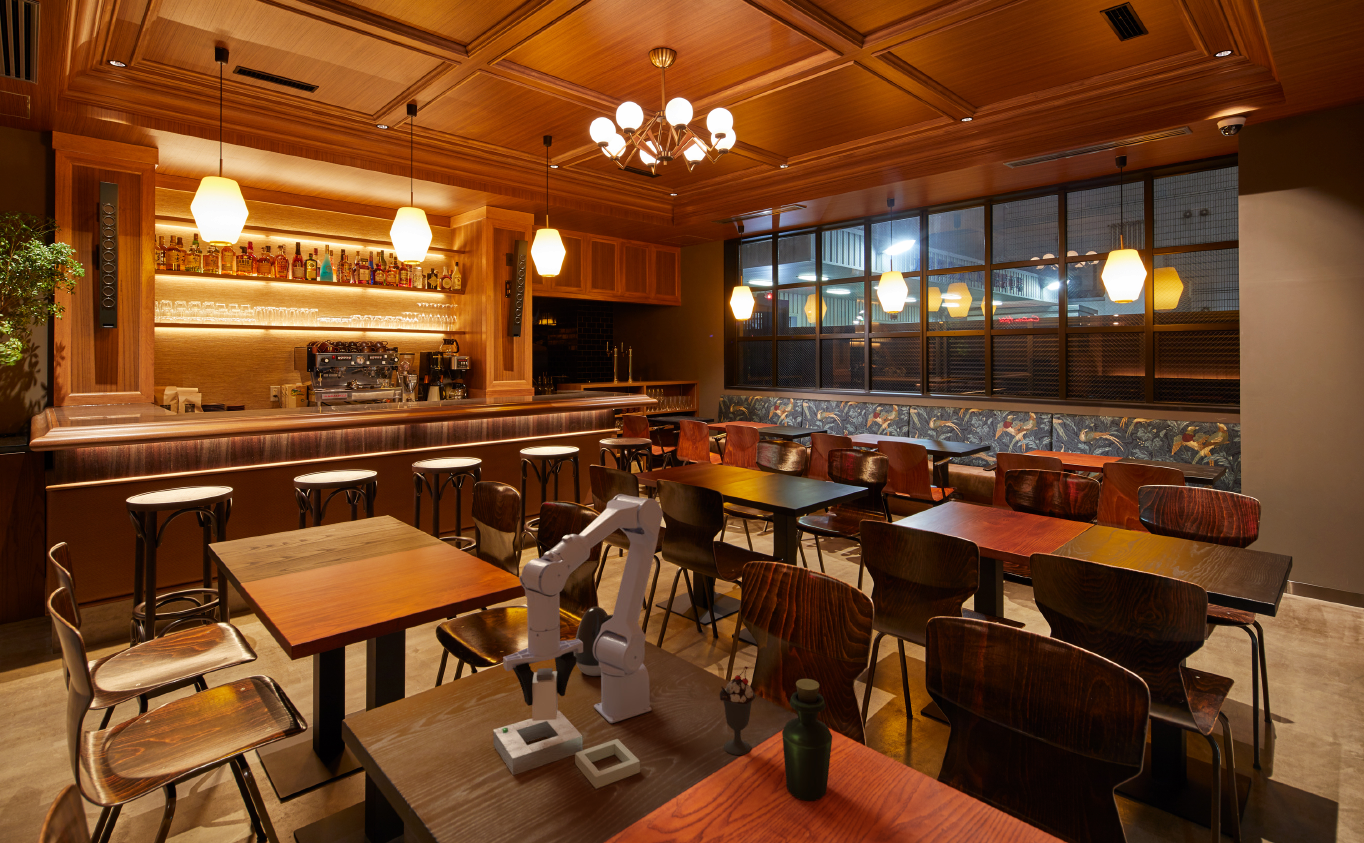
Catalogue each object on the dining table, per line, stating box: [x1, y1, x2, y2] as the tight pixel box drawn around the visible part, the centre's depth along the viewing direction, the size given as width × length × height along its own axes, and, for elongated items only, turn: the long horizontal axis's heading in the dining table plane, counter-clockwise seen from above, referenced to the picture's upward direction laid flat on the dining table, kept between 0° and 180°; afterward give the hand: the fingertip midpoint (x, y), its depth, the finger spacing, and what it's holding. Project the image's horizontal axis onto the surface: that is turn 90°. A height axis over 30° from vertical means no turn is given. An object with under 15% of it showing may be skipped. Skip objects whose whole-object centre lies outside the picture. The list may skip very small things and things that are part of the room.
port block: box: [492, 710, 584, 776], centre depth 121 cm, size 13×11×3 cm
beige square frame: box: [574, 738, 641, 790], centre depth 115 cm, size 8×8×2 cm
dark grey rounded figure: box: [574, 606, 613, 677], centre depth 152 cm, size 10×10×15 cm
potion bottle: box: [781, 678, 833, 802], centre depth 108 cm, size 8×8×18 cm
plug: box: [531, 667, 559, 721], centre depth 120 cm, size 4×4×8 cm
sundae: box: [719, 665, 757, 756], centre depth 121 cm, size 7×7×15 cm
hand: (545, 698), depth 120 cm, fingers closed on plug, 6 cm apart
